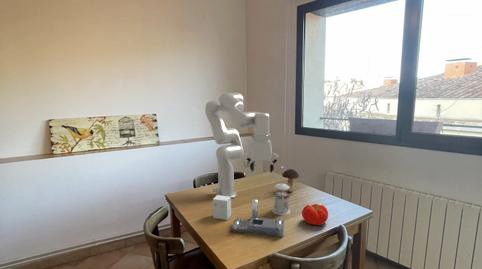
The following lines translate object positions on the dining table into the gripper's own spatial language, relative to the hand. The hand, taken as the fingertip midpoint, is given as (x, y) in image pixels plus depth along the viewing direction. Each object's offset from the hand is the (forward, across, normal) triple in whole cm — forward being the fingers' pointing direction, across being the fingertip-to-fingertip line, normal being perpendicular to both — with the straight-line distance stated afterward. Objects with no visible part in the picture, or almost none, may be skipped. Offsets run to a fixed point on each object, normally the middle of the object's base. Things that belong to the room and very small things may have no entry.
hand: (261, 171), depth 136 cm
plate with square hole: (+24, +1, -14) cm, 28 cm away
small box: (+24, -20, -6) cm, 32 cm away
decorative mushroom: (+24, +11, +38) cm, 46 cm away
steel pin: (+24, -3, -4) cm, 25 cm away
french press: (+25, +9, +9) cm, 28 cm away
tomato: (+25, +27, 0) cm, 36 cm away
